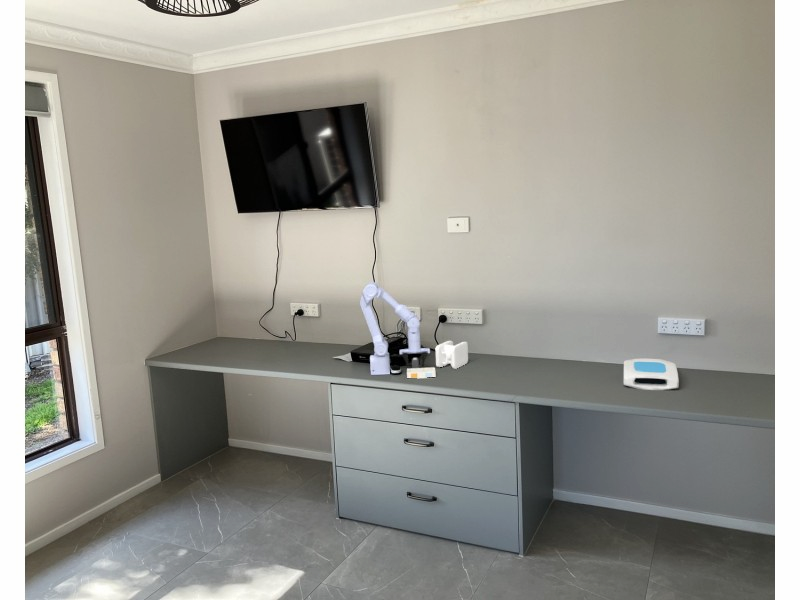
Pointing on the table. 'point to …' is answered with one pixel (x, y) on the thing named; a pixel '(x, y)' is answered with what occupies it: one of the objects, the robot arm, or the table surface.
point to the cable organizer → (451, 354)
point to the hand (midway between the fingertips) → (415, 367)
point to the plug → (415, 363)
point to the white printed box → (421, 372)
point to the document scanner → (650, 373)
